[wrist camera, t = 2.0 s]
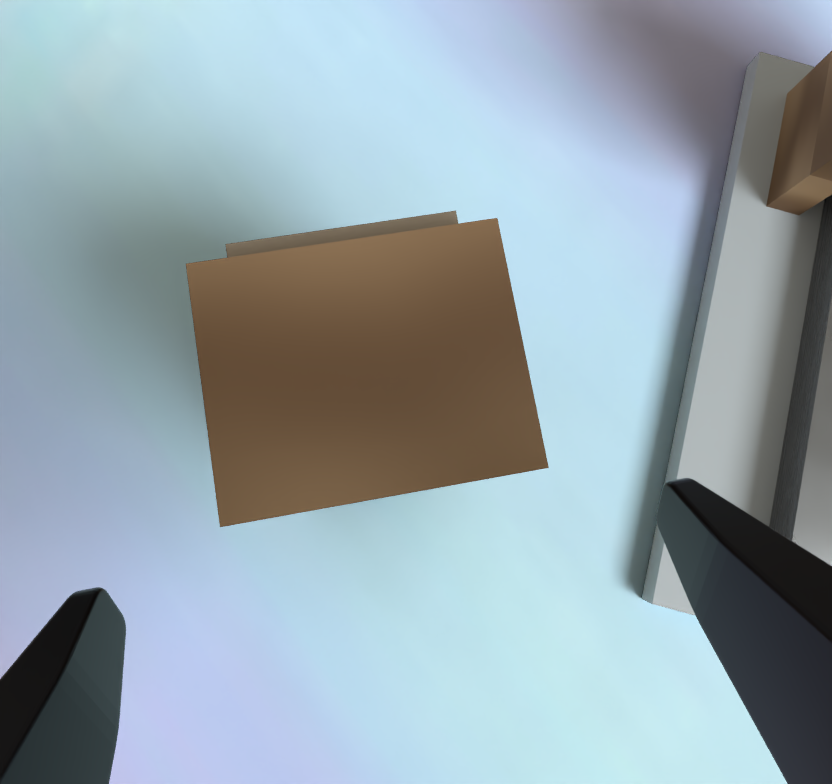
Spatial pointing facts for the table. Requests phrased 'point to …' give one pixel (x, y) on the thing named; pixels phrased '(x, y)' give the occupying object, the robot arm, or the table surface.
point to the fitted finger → (805, 144)
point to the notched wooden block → (361, 365)
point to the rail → (810, 418)
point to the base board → (743, 326)
